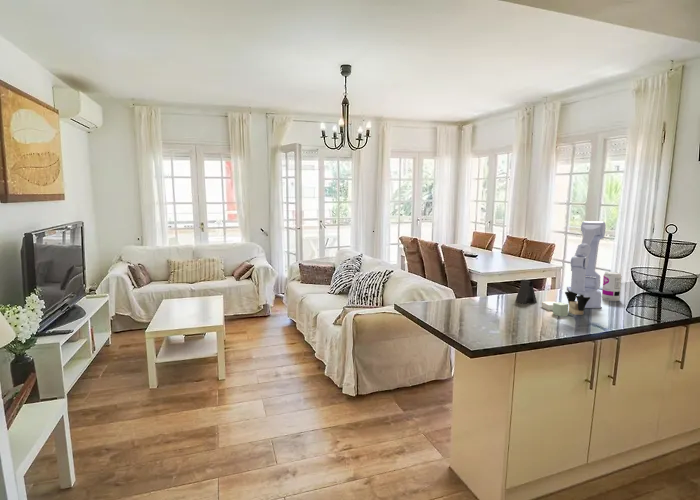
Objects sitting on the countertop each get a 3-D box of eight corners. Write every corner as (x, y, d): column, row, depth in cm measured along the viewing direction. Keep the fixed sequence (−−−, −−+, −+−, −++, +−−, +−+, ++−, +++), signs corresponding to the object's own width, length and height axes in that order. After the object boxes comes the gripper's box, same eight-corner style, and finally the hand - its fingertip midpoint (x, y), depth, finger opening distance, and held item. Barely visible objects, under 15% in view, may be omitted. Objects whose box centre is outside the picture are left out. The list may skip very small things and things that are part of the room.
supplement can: (604, 300, 213) (606, 273, 211) (599, 297, 221) (601, 271, 219) (621, 302, 211) (624, 274, 209) (616, 298, 219) (618, 272, 217)
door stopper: (528, 300, 216) (529, 278, 214) (536, 302, 210) (538, 280, 209) (515, 301, 213) (516, 279, 212) (523, 304, 207) (524, 282, 206)
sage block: (560, 313, 191) (560, 302, 190) (567, 315, 186) (568, 304, 186) (552, 313, 189) (553, 302, 189) (560, 316, 185) (560, 305, 184)
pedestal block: (554, 307, 202) (555, 301, 202) (562, 310, 195) (562, 305, 195) (541, 307, 202) (541, 301, 202) (548, 311, 195) (548, 305, 195)
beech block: (577, 312, 192) (578, 301, 192) (583, 314, 188) (584, 303, 187) (568, 312, 192) (569, 301, 192) (574, 314, 188) (574, 303, 187)
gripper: (561, 278, 195) (559, 304, 197) (579, 284, 181) (577, 312, 182) (575, 278, 195) (573, 304, 197) (594, 284, 181) (592, 312, 183)
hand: (576, 308), depth 190 cm, fingers open, 7 cm apart
